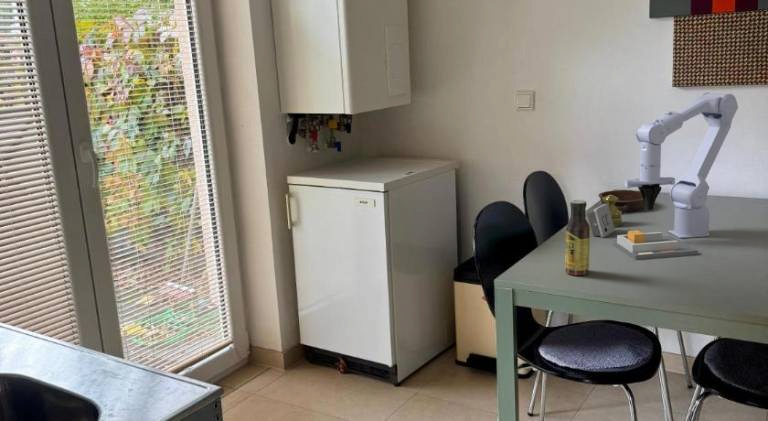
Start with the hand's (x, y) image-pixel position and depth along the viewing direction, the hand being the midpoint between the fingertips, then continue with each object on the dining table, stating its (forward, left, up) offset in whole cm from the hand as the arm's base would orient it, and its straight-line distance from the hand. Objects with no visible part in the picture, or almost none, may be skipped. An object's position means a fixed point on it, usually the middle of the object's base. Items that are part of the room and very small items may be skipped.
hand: (649, 209), depth 214 cm
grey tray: (+2, +8, -10) cm, 13 cm away
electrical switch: (+10, -12, -10) cm, 19 cm away
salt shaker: (+3, -22, -10) cm, 24 cm away
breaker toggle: (+7, +8, -9) cm, 14 cm away
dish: (-11, -44, -10) cm, 46 cm away
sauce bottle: (+30, +23, -10) cm, 39 cm away
